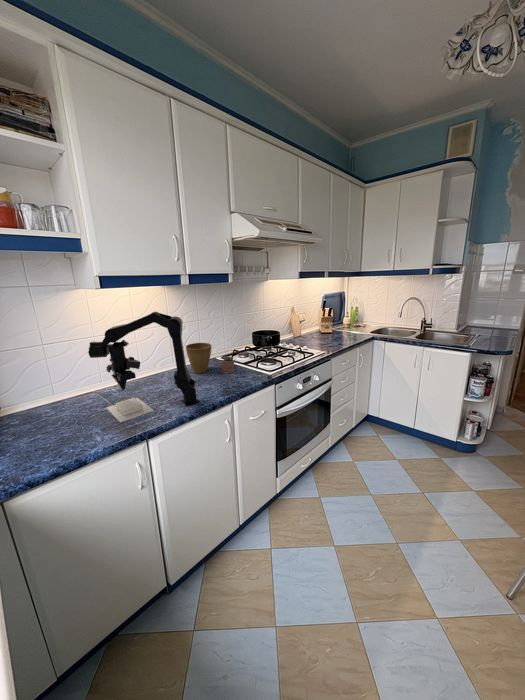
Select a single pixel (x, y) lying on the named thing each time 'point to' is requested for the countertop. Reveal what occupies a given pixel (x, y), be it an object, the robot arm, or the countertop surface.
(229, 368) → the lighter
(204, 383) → the countertop surface
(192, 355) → the plant pot
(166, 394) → the countertop surface
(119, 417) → the beige board
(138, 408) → the tile
